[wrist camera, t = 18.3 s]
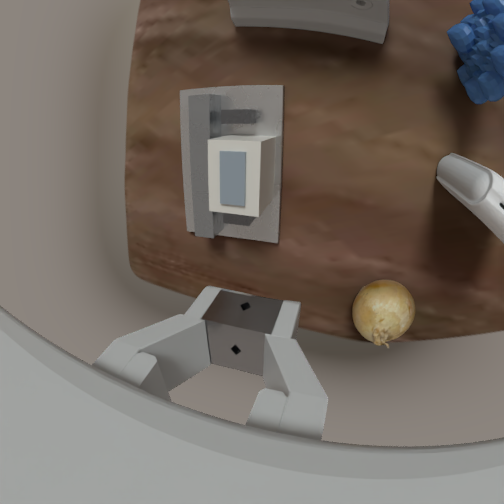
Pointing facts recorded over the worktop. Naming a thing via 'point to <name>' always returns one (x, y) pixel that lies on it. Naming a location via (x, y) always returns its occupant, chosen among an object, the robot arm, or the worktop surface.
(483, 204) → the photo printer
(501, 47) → the grapes
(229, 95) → the rail base
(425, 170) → the worktop surface
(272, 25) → the white toaster
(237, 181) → the block
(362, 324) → the onion
